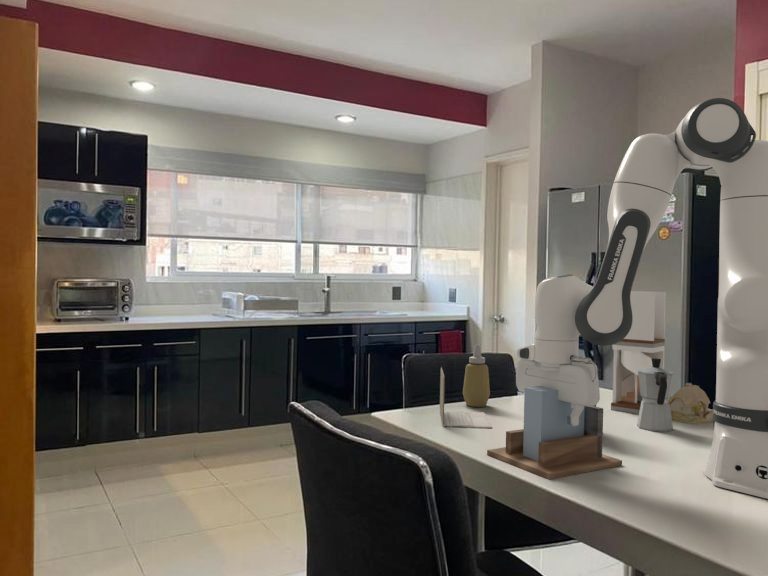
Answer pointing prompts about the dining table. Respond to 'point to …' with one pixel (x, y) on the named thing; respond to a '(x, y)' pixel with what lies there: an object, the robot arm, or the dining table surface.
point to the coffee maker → (655, 398)
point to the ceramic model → (690, 405)
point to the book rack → (561, 450)
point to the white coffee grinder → (638, 349)
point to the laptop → (460, 414)
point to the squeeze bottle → (476, 381)
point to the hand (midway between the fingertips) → (555, 420)
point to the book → (546, 419)
